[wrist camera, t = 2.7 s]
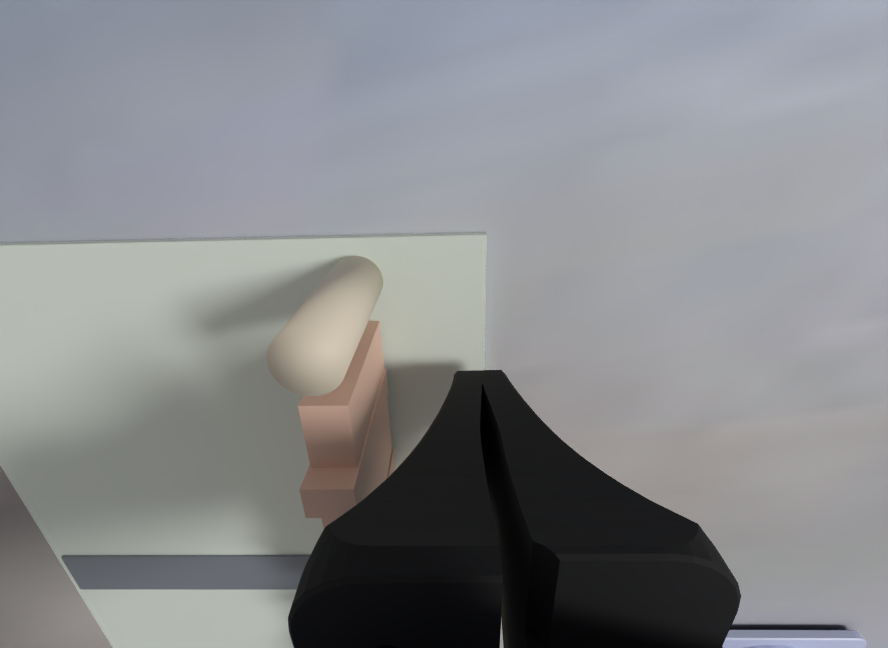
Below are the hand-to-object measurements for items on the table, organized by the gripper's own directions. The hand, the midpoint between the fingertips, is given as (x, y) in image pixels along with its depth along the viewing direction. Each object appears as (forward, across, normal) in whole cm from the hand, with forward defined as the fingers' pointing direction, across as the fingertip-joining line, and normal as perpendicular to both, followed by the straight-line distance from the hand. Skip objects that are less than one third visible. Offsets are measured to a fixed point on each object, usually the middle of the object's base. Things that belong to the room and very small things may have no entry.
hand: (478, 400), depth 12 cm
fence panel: (+1, +3, +2) cm, 4 cm away
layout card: (+1, +8, +9) cm, 12 cm away
